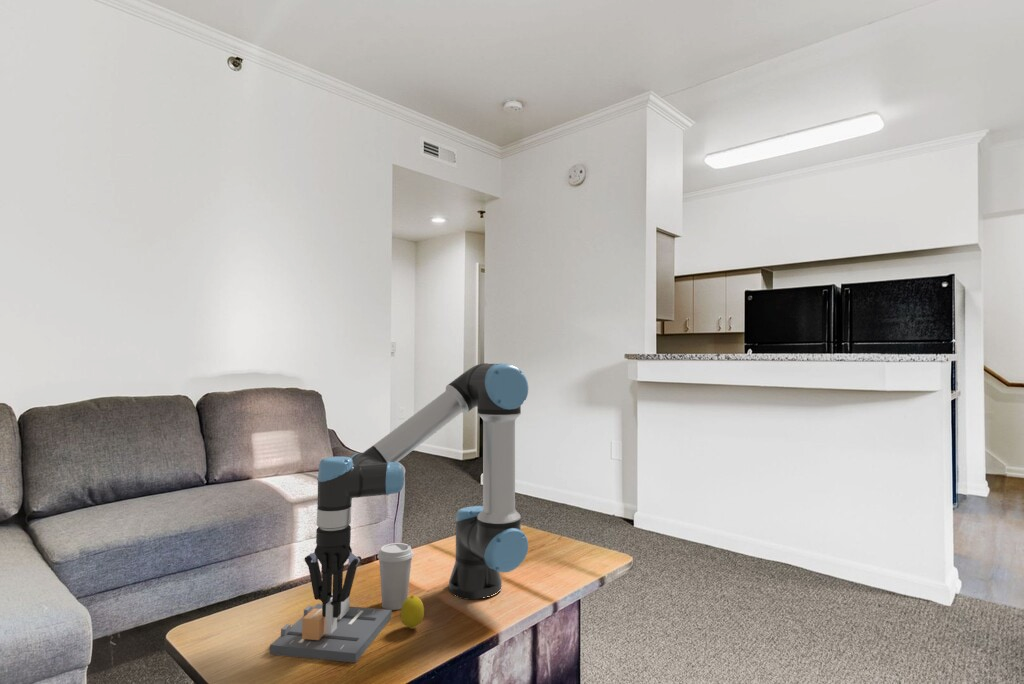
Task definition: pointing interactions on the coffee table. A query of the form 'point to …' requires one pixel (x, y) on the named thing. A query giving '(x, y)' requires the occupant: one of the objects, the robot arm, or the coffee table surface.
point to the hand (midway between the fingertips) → (331, 630)
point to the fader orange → (313, 625)
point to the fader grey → (343, 608)
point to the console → (334, 636)
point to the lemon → (412, 612)
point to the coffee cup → (394, 574)
